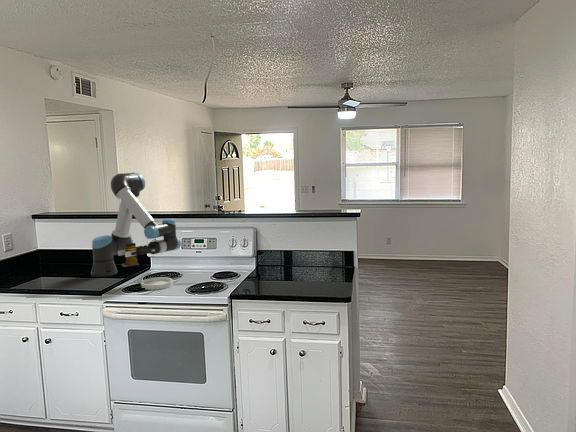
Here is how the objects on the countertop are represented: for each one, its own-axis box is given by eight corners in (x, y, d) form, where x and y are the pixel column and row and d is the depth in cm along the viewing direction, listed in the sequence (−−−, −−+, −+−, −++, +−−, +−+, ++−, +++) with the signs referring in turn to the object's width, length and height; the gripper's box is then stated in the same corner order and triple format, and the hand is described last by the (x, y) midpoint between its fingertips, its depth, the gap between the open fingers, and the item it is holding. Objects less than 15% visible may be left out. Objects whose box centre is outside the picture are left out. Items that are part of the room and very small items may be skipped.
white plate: (148, 281, 267) (147, 277, 266) (176, 281, 265) (176, 277, 265) (136, 289, 250) (136, 285, 250) (166, 289, 249) (166, 285, 248)
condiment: (139, 264, 257) (138, 243, 255) (124, 266, 252) (122, 245, 251) (136, 262, 263) (134, 241, 261) (120, 264, 258) (119, 243, 257)
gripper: (167, 255, 265) (132, 262, 247) (147, 251, 277) (112, 258, 259) (166, 242, 264) (131, 249, 246) (146, 239, 276) (111, 245, 258)
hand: (121, 254), depth 252 cm, fingers closed on condiment, 6 cm apart
